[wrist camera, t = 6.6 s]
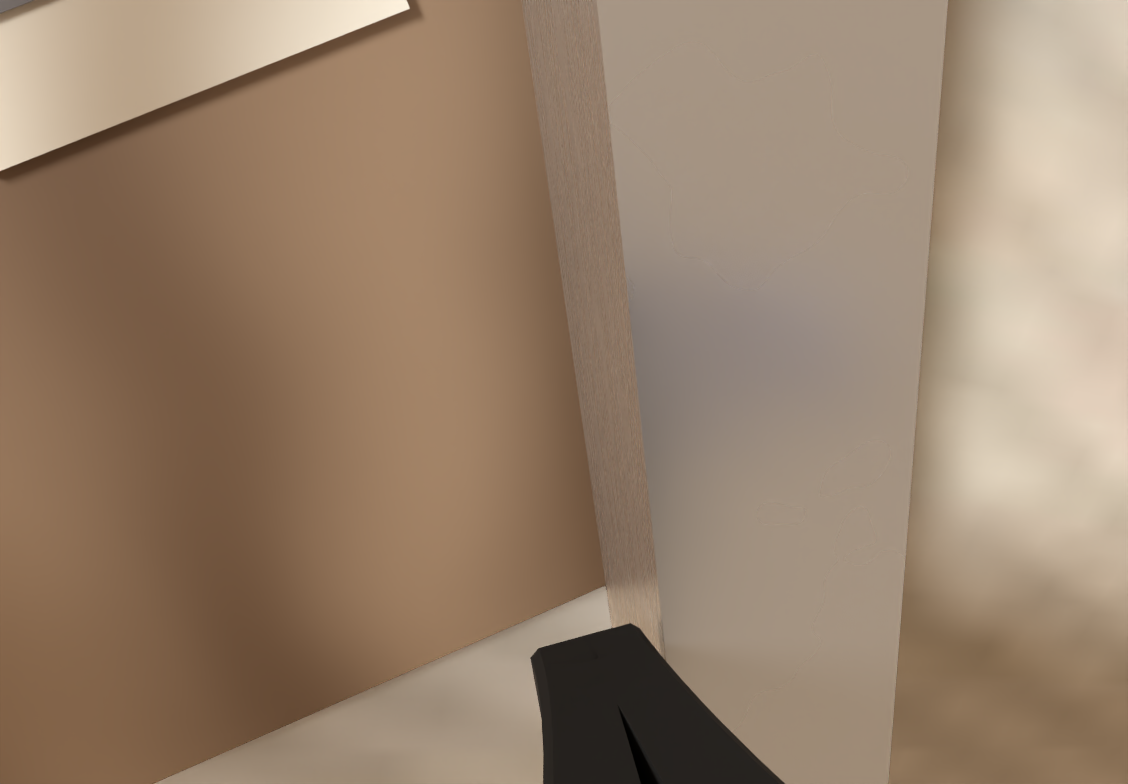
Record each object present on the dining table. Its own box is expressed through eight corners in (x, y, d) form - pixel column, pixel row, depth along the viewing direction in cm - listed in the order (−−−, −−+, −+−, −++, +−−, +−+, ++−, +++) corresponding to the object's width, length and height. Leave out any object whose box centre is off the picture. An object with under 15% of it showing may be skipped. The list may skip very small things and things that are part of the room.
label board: (-190, 867, 15) (-255, 987, 13) (-1685, -182, 7) (-2331, -217, 5) (853, 414, 16) (916, 471, 15) (603, -958, 8) (679, -1195, 6)
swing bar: (406, -530, 7) (462, -803, 5) (804, -560, 8) (1068, -824, 5) (621, 811, 16) (684, 992, 13) (802, 753, 17) (898, 917, 14)
